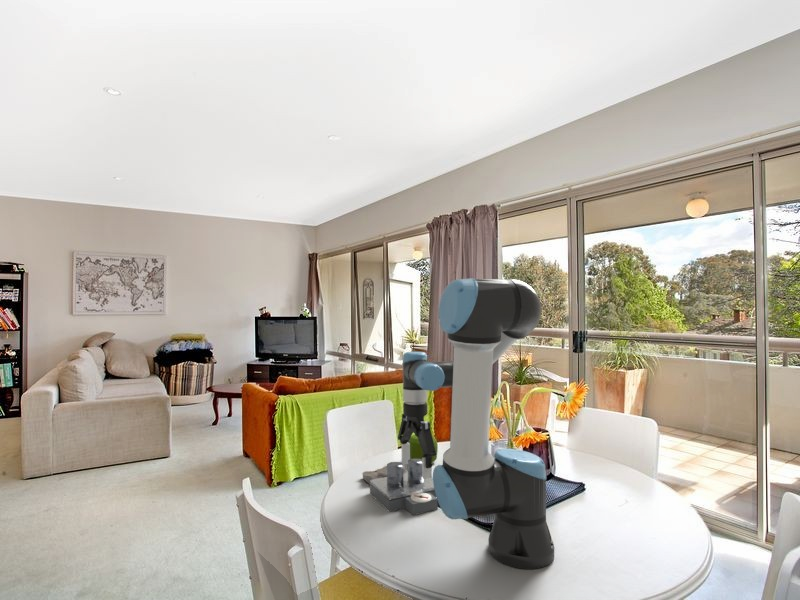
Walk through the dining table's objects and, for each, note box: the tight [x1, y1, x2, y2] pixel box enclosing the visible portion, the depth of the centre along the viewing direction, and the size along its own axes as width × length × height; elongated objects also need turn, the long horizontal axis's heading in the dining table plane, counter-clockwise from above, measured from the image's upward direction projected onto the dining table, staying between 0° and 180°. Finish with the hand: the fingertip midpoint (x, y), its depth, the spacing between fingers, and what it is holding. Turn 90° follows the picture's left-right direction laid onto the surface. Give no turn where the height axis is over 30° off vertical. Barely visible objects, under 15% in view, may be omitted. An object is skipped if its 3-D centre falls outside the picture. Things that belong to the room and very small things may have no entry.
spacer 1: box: [386, 461, 404, 488], centre depth 138 cm, size 5×5×6 cm
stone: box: [362, 465, 408, 485], centre depth 154 cm, size 15×10×4 cm, turn 126°
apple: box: [407, 434, 439, 463], centre depth 169 cm, size 11×11×11 cm
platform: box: [370, 472, 435, 500], centre depth 140 cm, size 14×18×1 cm
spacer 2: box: [407, 459, 424, 484], centre depth 141 cm, size 5×5×6 cm
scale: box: [369, 484, 439, 516], centre depth 137 cm, size 20×18×4 cm
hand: (416, 470), depth 141 cm, fingers open, 13 cm apart
